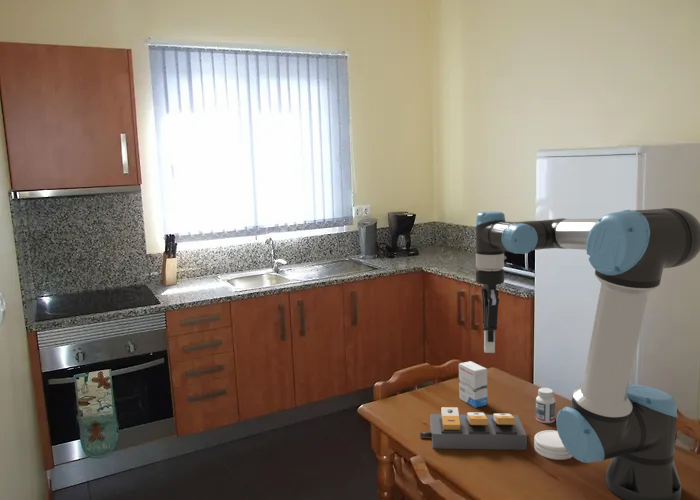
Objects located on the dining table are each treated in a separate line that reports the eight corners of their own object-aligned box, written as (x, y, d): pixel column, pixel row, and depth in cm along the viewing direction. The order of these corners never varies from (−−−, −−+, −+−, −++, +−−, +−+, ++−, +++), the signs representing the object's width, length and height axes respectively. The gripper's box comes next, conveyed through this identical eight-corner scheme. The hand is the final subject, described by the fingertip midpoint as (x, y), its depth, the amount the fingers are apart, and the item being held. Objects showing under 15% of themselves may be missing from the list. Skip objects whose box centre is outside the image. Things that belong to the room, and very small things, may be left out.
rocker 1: (460, 429, 152) (460, 424, 151) (443, 429, 152) (443, 424, 152) (457, 412, 158) (457, 407, 158) (441, 411, 159) (441, 407, 158)
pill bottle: (552, 415, 169) (553, 386, 168) (556, 423, 164) (557, 393, 163) (533, 415, 170) (534, 386, 168) (537, 423, 164) (538, 393, 163)
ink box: (488, 405, 177) (488, 368, 176) (474, 408, 175) (474, 371, 174) (471, 395, 185) (471, 360, 183) (457, 398, 183) (457, 362, 181)
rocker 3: (515, 424, 150) (514, 417, 150) (497, 424, 150) (497, 417, 150) (510, 419, 157) (509, 413, 157) (493, 419, 157) (493, 413, 157)
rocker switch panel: (526, 449, 150) (526, 430, 149) (421, 448, 152) (420, 429, 151) (517, 428, 162) (517, 410, 161) (419, 427, 164) (419, 409, 163)
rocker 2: (487, 425, 151) (487, 418, 151) (470, 424, 151) (470, 418, 151) (483, 418, 158) (483, 412, 158) (467, 418, 158) (467, 412, 158)
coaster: (562, 440, 155) (562, 427, 154) (583, 458, 145) (583, 445, 145) (527, 443, 153) (527, 431, 153) (545, 462, 144) (545, 449, 143)
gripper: (509, 272, 152) (508, 359, 155) (499, 264, 165) (498, 344, 168) (480, 273, 152) (479, 359, 156) (472, 264, 165) (472, 344, 168)
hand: (489, 351), depth 162 cm, fingers closed
